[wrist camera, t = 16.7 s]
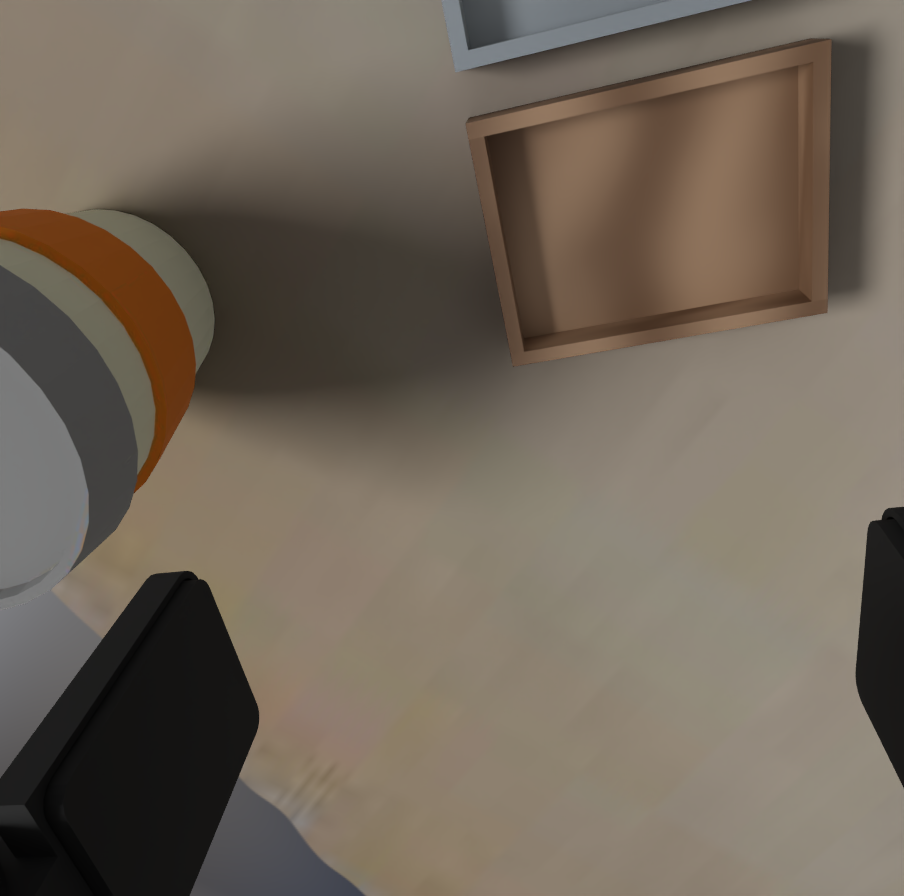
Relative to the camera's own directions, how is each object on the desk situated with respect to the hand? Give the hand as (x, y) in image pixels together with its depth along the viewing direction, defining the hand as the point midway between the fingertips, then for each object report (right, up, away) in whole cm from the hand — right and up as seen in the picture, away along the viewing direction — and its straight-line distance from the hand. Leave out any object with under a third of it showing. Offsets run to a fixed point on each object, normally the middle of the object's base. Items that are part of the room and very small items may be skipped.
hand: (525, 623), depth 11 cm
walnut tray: (+7, +13, +21) cm, 26 cm away
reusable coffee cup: (-17, +9, +25) cm, 32 cm away
